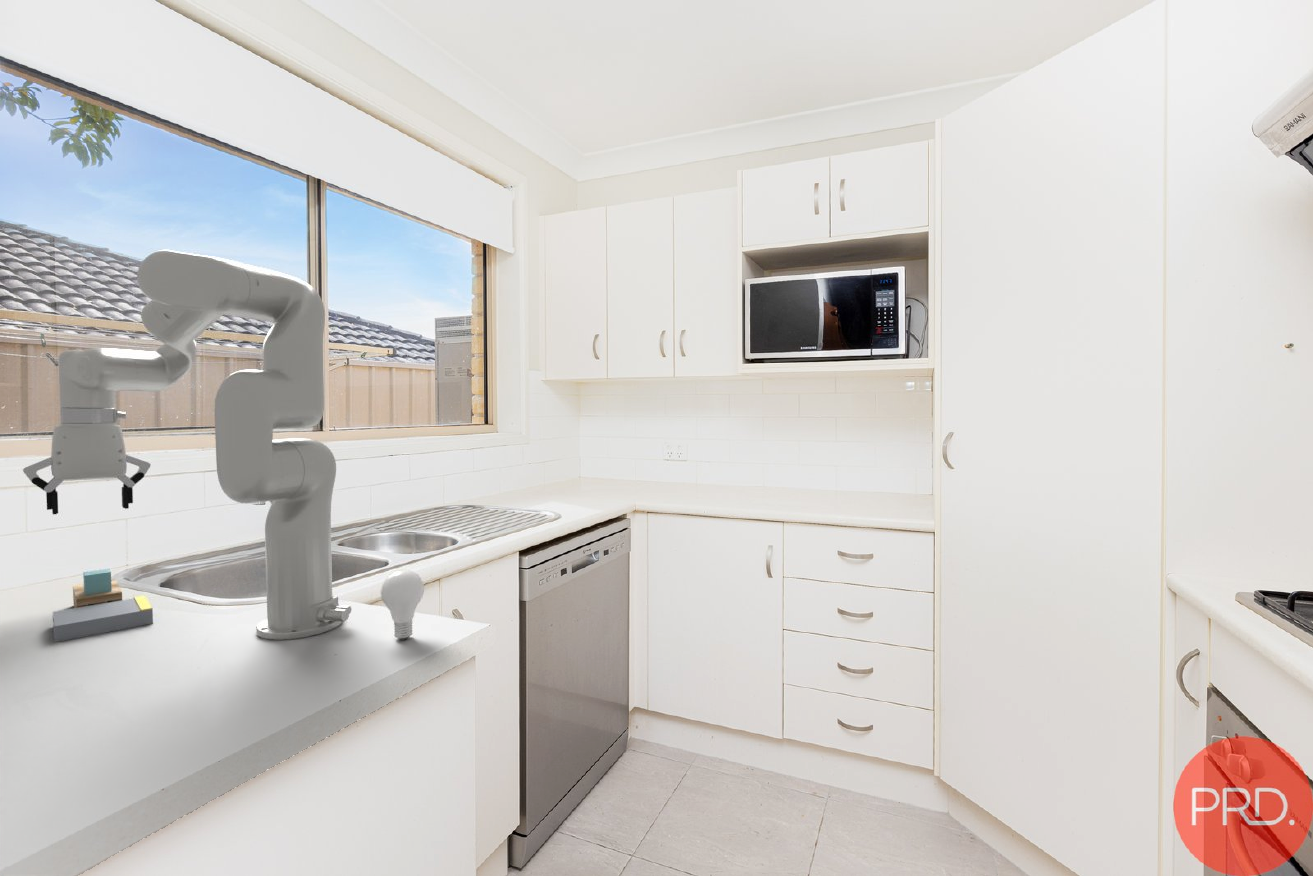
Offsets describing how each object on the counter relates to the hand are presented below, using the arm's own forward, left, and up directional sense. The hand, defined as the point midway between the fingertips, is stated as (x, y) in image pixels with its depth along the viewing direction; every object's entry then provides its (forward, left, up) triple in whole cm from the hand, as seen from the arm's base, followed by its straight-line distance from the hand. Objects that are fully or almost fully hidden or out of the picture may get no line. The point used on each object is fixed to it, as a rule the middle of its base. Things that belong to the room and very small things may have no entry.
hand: (91, 510), depth 115 cm
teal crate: (-5, +3, -14) cm, 15 cm away
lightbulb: (-66, +6, -18) cm, 69 cm away
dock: (-13, +9, -18) cm, 23 cm away
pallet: (-3, +2, -18) cm, 18 cm away
